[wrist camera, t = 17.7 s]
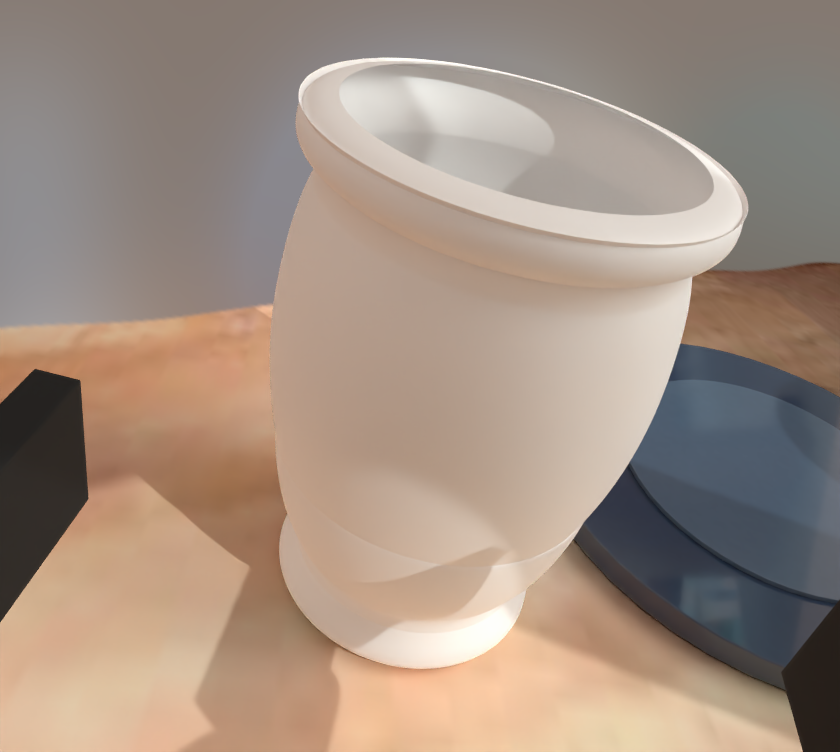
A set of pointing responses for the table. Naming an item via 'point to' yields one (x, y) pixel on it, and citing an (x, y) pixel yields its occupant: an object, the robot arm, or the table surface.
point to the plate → (729, 512)
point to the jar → (469, 339)
